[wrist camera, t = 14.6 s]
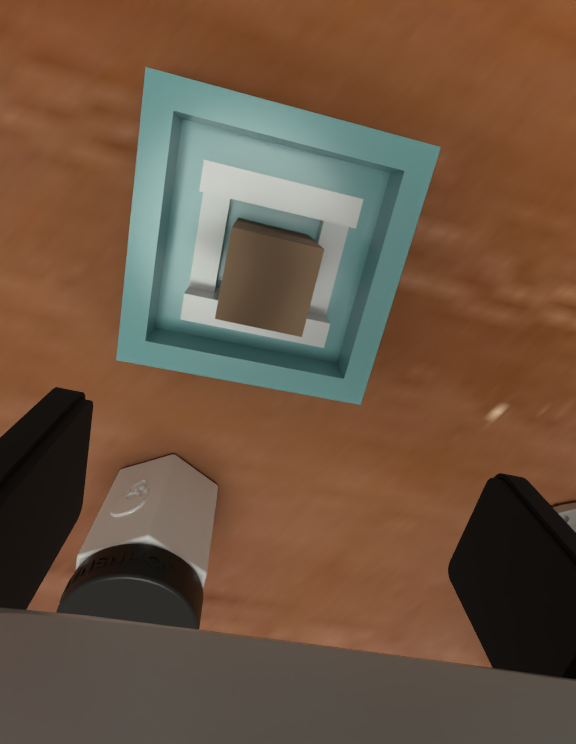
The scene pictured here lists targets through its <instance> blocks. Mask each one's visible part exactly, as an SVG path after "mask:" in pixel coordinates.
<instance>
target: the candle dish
mask: <svg viewBox="0 0 576 744" xmlns="http://www.w3.org/2000/svg"><path fill="white" fill-rule="evenodd" d="M440 149H441V147H439V146H435V145H431V144H428V143H424V142H420V141H417V140H413V139H409V138H405V137H402V136H398V135H394V134H391V133H387V132H383V131H380V130H376V129H372V128H369V127H365V126H361V125H358V124H354V123H350V122H347V121H343V120H339V119H335V118H332V117H328V116H324V115H321V114H317V113H313V112H310V111H306V110H302V109H299V108H295V107H291V106H288V105H284V104H280V103H277V102H273V101H269V100H265V99H262V98H258V97H254V96H251V95H247V94H243V93H240V92H236V91H232V90H229V89H225V88H221V87H218V86H214V85H210V84H206V83H203V82H199V81H195V80H192V79H188V78H184V77H181V76H177V75H173V74H170V73H166V72H162V71H159V70H155V69H151V68H148V67H146V69H145V79H144V89H143V99H142V109H141V119H140V129H139V139H138V149H137V159H136V168H135V178H134V188H133V198H132V208H131V218H130V228H129V238H128V248H127V258H126V268H125V278H124V288H123V298H122V308H121V318H120V328H119V338H118V348H117V358H116V360H119V361H124V362H129V363H135V364H140V365H146V366H151V367H157V368H162V369H168V370H173V371H178V372H184V373H189V374H195V375H200V376H206V377H211V378H217V379H222V380H227V381H233V382H238V383H244V384H249V385H255V386H260V387H266V388H271V389H276V390H282V391H287V392H293V393H298V394H304V395H309V396H315V397H320V398H325V399H331V400H336V401H342V402H347V403H353V404H358V405H361V402H362V399H363V396H364V393H365V389H366V386H367V383H368V380H369V376H370V373H371V370H372V367H373V364H374V360H375V357H376V354H377V351H378V348H379V344H380V341H381V338H382V335H383V332H384V328H385V325H386V322H387V319H388V315H389V312H390V309H391V306H392V303H393V299H394V296H395V293H396V290H397V287H398V283H399V280H400V277H401V274H402V271H403V267H404V264H405V261H406V258H407V254H408V251H409V248H410V245H411V242H412V238H413V235H414V232H415V229H416V226H417V222H418V219H419V216H420V213H421V210H422V206H423V203H424V200H425V197H426V193H427V190H428V187H429V184H430V181H431V177H432V174H433V171H434V168H435V165H436V161H437V158H438V155H439V152H440ZM238 218H242V219H246V220H250V221H254V222H258V223H262V224H267V225H271V226H275V227H279V228H283V229H287V230H291V231H295V232H299V233H304V234H308V235H309V236H310V237H311V238H312V239H313V240H315V241H316V242H317V243H318V244H319V245H320V246H321V247H322V248H324V253H323V257H322V261H321V265H320V269H319V273H318V277H317V280H316V284H315V288H314V292H313V296H312V300H311V304H310V308H309V312H308V316H307V319H306V323H305V327H304V331H303V335H302V337H299V336H294V335H289V334H284V333H280V332H275V331H270V330H265V329H261V328H256V327H251V326H246V325H242V324H237V323H232V322H227V321H222V320H218V319H215V315H216V310H217V304H218V299H219V293H220V288H221V283H222V277H223V272H224V266H225V261H226V255H227V250H228V245H229V239H230V234H231V228H232V226H233V225H234V223H235V222H236V220H237V219H238Z"/></svg>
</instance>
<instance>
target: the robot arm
mask: <svg viewBox="0 0 576 744" xmlns="http://www.w3.org/2000/svg"><path fill="white" fill-rule="evenodd" d="M92 412H93V402H92V401H90V400H85V394H84V393H83V392H78V391H73V390H68V389H63V388H57V387H56V388H54V389H53V390H51V391H50V392H49V393H48V394H47V395H46V396H45V397H44V398H43V399H42V400H41V401H40V402H38V403H37V404H36V405H35V406H34V407H33V408H32V409H31V410H30V411H29V412H28V413H27V414H25V415H24V416H23V417H22V418H21V419H20V420H19V421H18V422H17V423H16V424H15V425H13V426H12V427H11V428H10V429H9V430H8V431H7V432H6V433H5V434H4V435H3V436H2V437H0V744H576V503H570V504H564V505H559V506H556V507H553V508H552V506H551V505H550V504H549V503H548V502H547V501H546V500H545V499H544V498H543V497H542V496H541V495H540V494H539V492H538V491H537V490H536V489H535V488H534V487H533V486H532V485H531V484H530V483H529V482H528V481H527V480H526V479H525V478H522V477H517V476H512V475H506V474H501V473H500V474H497V475H496V476H495V477H494V478H490V479H489V480H488V481H487V483H486V485H485V487H484V489H483V491H482V493H481V496H480V498H479V500H478V502H477V504H476V506H475V509H474V511H473V513H472V515H471V517H470V519H469V522H468V524H467V526H466V528H465V530H464V532H463V535H462V537H461V539H460V541H459V543H458V545H457V548H456V550H455V552H454V554H453V556H452V558H451V561H450V563H449V567H448V574H449V578H450V581H451V583H452V585H453V587H454V589H455V591H456V593H457V595H458V597H459V599H460V601H461V603H462V605H463V607H464V610H465V612H466V614H467V616H468V618H469V620H470V622H471V624H472V626H473V628H474V630H475V632H476V634H477V636H478V638H479V640H480V642H481V644H482V647H483V649H484V651H485V653H486V655H487V657H488V659H489V661H490V663H491V665H492V667H493V668H489V667H482V666H474V665H467V664H460V663H452V662H445V661H437V660H430V659H422V658H415V657H407V656H400V655H392V654H385V653H377V652H369V651H362V650H354V649H346V648H339V647H331V646H324V645H316V644H308V643H301V642H293V641H285V640H277V639H269V638H261V637H253V636H245V635H237V634H229V633H221V632H213V631H206V630H198V629H190V628H182V627H174V626H166V625H158V624H150V623H142V622H134V621H126V620H118V619H110V618H103V617H95V616H87V615H76V614H65V613H54V612H43V611H32V610H26V609H27V607H28V605H29V604H30V602H31V600H32V598H33V597H34V595H35V593H36V591H37V590H38V588H39V586H40V584H41V583H42V581H43V579H44V577H45V576H46V574H47V572H48V570H49V569H50V567H51V565H52V563H53V562H54V560H55V558H56V556H57V555H58V553H59V551H60V550H61V548H62V546H63V544H64V543H65V541H66V539H67V537H68V536H69V534H70V532H71V530H72V529H73V527H74V525H75V523H76V522H77V520H78V517H79V515H80V512H81V508H82V504H83V495H84V486H85V477H86V468H87V458H88V449H89V440H90V430H91V421H92Z"/></svg>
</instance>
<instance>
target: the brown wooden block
mask: <svg viewBox="0 0 576 744" xmlns="http://www.w3.org/2000/svg"><path fill="white" fill-rule="evenodd" d="M323 253H324V248H322V247H321V246H320V245H319V244H318V243H317V242H316V241H315V240H313V239H312V238H311V237H310V236H309V235H308V234H304V233H299V232H295V231H291V230H287V229H283V228H279V227H275V226H271V225H267V224H262V223H258V222H254V221H250V220H246V219H242V218H238V219H237V220H236V222H235V223H234V225H233V226H232V228H231V234H230V239H229V245H228V250H227V255H226V261H225V266H224V272H223V277H222V283H221V288H220V293H219V299H218V304H217V310H216V315H215V319H218V320H222V321H227V322H232V323H237V324H242V325H246V326H251V327H256V328H261V329H265V330H270V331H275V332H280V333H284V334H289V335H294V336H299V337H302V335H303V331H304V327H305V323H306V319H307V316H308V312H309V308H310V304H311V300H312V296H313V292H314V288H315V284H316V280H317V277H318V273H319V269H320V265H321V261H322V257H323Z"/></svg>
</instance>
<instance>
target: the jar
mask: <svg viewBox="0 0 576 744" xmlns="http://www.w3.org/2000/svg"><path fill="white" fill-rule="evenodd" d="M217 494H218V486H217V485H216V484H215V483H214V482H212V481H211V480H210V479H208V478H207V477H205V476H204V475H203V474H201V473H200V472H198V471H197V470H196V469H194V468H193V467H192V466H190V465H189V464H187V463H186V462H185V461H183V460H182V459H181V458H179V457H178V456H176V455H175V454H172V455H168V456H165V457H161V458H158V459H154V460H151V461H147V462H144V463H140V464H137V465H134V466H130V467H127V468H123V469H120V470H119V472H118V474H117V476H116V478H115V480H114V482H113V484H112V486H111V488H110V490H109V492H108V494H107V496H106V498H105V500H104V502H103V504H102V506H101V508H100V510H99V512H98V514H97V516H96V519H95V521H94V523H93V525H92V527H91V529H90V531H89V533H88V535H87V537H86V539H85V541H84V543H83V545H82V547H81V549H80V551H79V553H78V555H77V561H76V571H75V573H74V575H73V576H72V577H71V579H70V580H69V582H68V584H67V586H66V588H65V590H64V592H63V594H62V597H61V600H60V604H59V606H58V609H57V612H56V613H65V614H76V615H87V616H95V617H103V618H110V619H118V620H126V621H134V622H142V623H150V624H158V625H166V626H174V627H182V628H190V629H198V630H199V626H200V619H201V611H202V604H203V589H204V584H205V580H206V576H207V570H208V562H209V555H210V547H211V539H212V532H213V524H214V517H215V509H216V501H217Z"/></svg>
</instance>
